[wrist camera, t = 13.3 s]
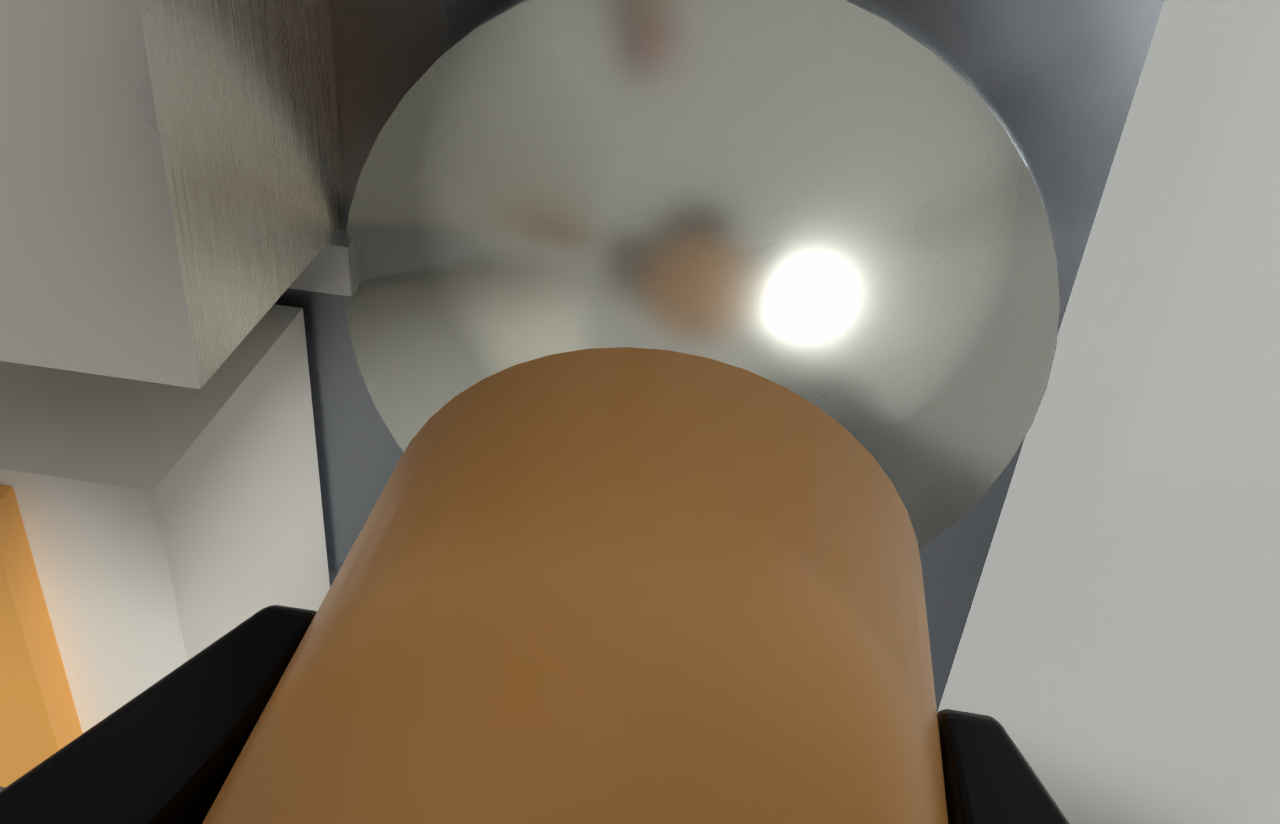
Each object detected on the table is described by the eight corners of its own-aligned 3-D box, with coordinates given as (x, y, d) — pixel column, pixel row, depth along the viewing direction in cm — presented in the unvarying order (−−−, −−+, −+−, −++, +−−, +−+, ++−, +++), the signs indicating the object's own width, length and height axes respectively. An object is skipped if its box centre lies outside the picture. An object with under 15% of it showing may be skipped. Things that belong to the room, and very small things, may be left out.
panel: (1181, -183, 11) (1388, -96, 7) (925, 667, 17) (955, 974, 13) (-907, -390, 12) (-1730, -415, 8) (-441, 459, 19) (-788, 676, 15)
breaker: (302, 308, 13) (132, 518, 10) (330, 588, 16) (198, 831, 13) (-20, 264, 14) (-290, 454, 10) (55, 546, 16) (-145, 772, 13)
